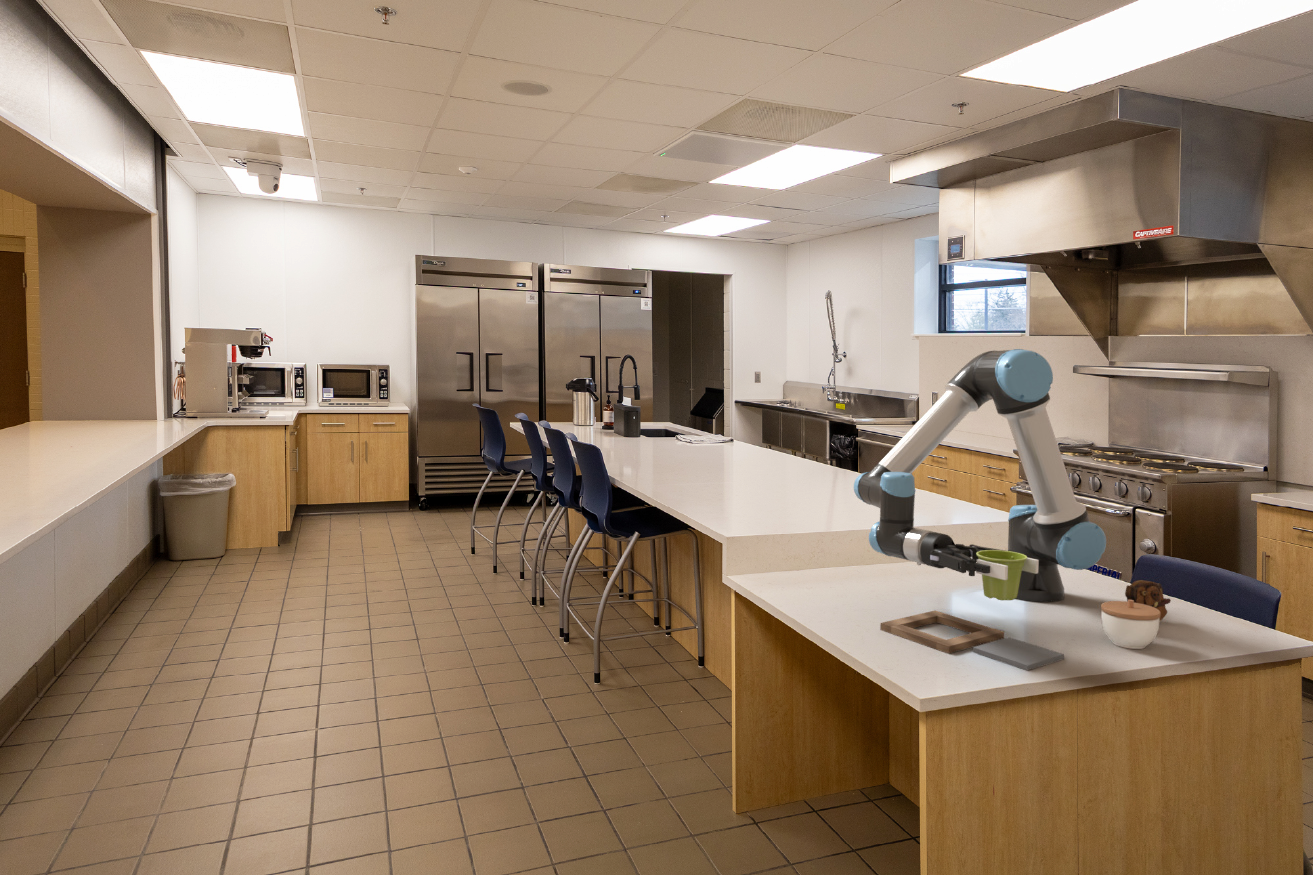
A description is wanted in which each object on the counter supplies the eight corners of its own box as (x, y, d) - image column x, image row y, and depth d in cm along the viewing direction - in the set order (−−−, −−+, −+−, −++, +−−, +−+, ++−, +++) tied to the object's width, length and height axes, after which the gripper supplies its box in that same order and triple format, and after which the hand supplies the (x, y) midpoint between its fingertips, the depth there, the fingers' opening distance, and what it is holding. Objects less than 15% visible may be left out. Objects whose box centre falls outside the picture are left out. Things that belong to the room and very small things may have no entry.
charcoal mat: (1009, 641, 171) (1009, 637, 171) (1063, 658, 161) (1064, 653, 161) (972, 652, 165) (973, 647, 165) (1027, 670, 155) (1027, 665, 154)
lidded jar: (1170, 653, 164) (1172, 607, 164) (1117, 652, 165) (1119, 607, 164) (1139, 636, 175) (1141, 593, 174) (1089, 635, 175) (1091, 593, 174)
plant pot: (967, 591, 168) (968, 549, 168) (1011, 590, 169) (1012, 549, 168) (988, 603, 159) (989, 560, 158) (1034, 603, 160) (1036, 559, 159)
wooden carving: (1135, 634, 176) (1137, 589, 175) (1114, 628, 180) (1116, 584, 179) (1174, 622, 185) (1176, 579, 184) (1152, 617, 189) (1155, 574, 188)
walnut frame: (934, 616, 188) (934, 610, 188) (1004, 638, 173) (1004, 631, 173) (880, 629, 179) (880, 622, 179) (948, 653, 164) (948, 646, 164)
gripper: (962, 559, 185) (1054, 581, 166) (894, 571, 174) (985, 596, 154) (963, 526, 184) (1056, 544, 165) (895, 536, 173) (986, 557, 154)
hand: (1022, 569), depth 160 cm, fingers closed on plant pot, 9 cm apart
